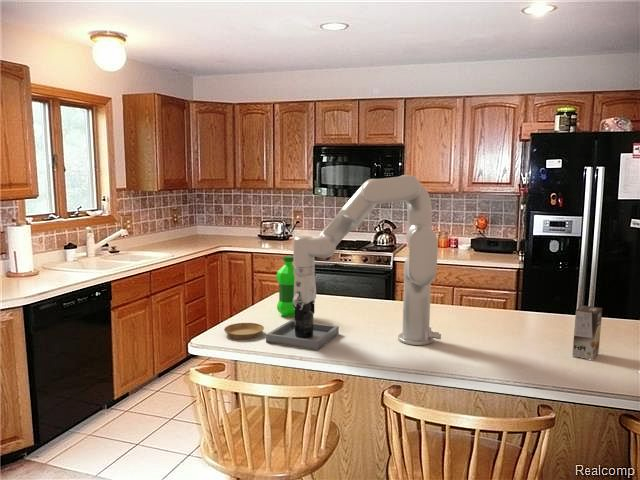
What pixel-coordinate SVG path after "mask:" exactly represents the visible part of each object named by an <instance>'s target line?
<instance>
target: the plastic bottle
mask: <svg viewBox="0 0 640 480" xmlns="http://www.w3.org/2000/svg"><path fill="white" fill-rule="evenodd" d="M283 262H284V264H283V266H282V267H280V268H279V269H278V270H277V273H276V275H275V279H276V282H277V283H278V284H279V285H278V286H279V287H278V289H279V290H278V291H279V293H278V297H279V298H278V299H279V300H278V302H277V305H276V309H277V311H278V313H279V314H280V315H282V316H283V317H288V318H289V317H295V310H294V306H293V298H294V280H295V275H294V264H293V263H294V256H292V255H286V256H285V255H284V256H283Z"/></svg>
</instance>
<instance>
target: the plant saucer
mask: <svg viewBox="0 0 640 480" xmlns="http://www.w3.org/2000/svg"><path fill="white" fill-rule="evenodd" d="M264 329H265V327H264V326H263V325H262V324H260V323H255V322H237V323H232V324H229V325H227V326H225V327H224V328H223V330H224V332H225V333H226V334H227V336H229V337H230V338H231V339H232V338H233V339H236V340H248V339H254V338H257V337H258V336H260V335H261V333H262V332H263V331H264Z"/></svg>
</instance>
